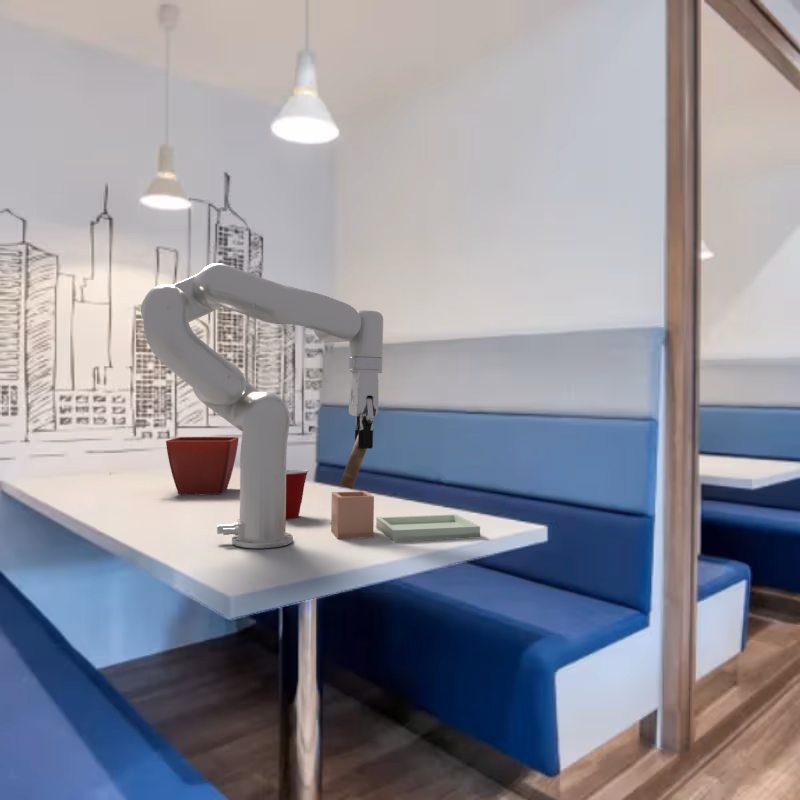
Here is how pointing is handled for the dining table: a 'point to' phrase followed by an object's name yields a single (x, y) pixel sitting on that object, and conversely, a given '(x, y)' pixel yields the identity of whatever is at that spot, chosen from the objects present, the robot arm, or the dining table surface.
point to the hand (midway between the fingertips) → (363, 446)
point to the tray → (426, 527)
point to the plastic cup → (294, 491)
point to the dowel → (353, 466)
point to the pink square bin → (352, 514)
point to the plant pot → (202, 463)
